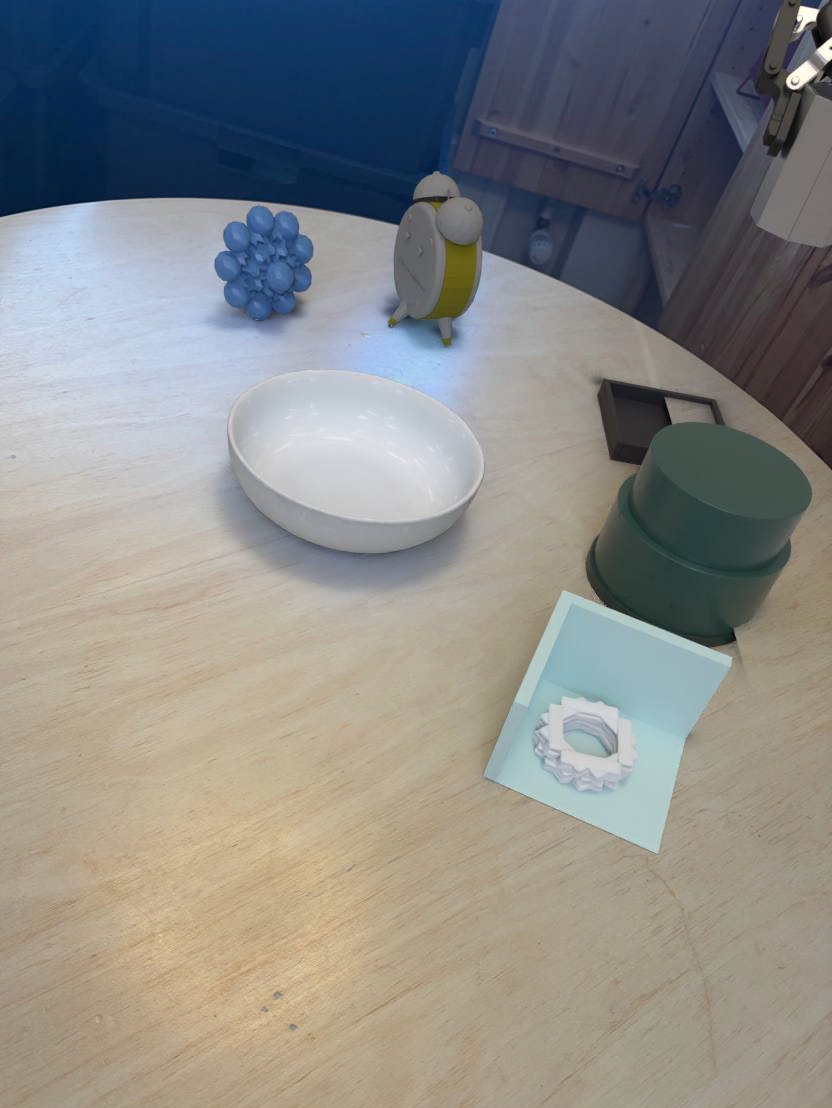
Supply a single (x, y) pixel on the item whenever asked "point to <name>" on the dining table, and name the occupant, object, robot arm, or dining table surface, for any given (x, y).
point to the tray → (638, 416)
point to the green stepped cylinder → (699, 532)
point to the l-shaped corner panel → (605, 718)
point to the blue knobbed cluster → (264, 262)
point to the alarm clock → (438, 254)
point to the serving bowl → (353, 459)
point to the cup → (801, 175)
